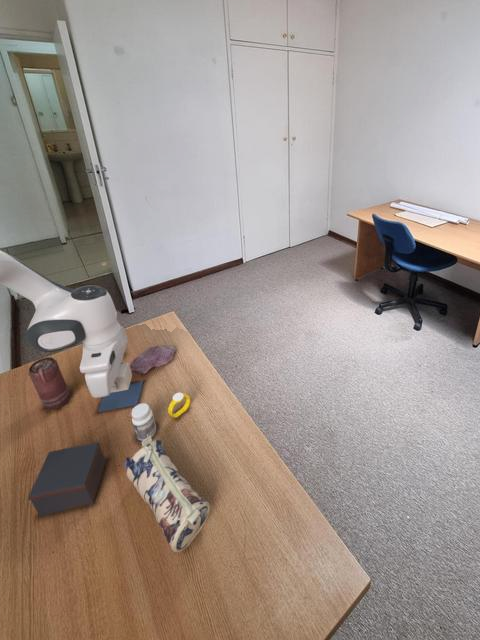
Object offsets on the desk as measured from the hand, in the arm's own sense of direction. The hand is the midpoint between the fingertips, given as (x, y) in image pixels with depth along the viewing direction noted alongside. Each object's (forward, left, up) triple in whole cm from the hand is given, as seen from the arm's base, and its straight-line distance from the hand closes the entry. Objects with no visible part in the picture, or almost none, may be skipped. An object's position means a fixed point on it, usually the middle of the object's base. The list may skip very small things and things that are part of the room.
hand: (117, 380), depth 91 cm
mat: (0, 0, -6) cm, 6 cm away
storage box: (-4, -23, -6) cm, 24 cm away
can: (-17, +2, -7) cm, 18 cm away
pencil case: (+17, -31, -7) cm, 36 cm away
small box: (0, 0, -2) cm, 2 cm away
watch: (+17, -9, -7) cm, 20 cm away
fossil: (+7, +11, -7) cm, 15 cm away
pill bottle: (+9, -13, -7) cm, 17 cm away
